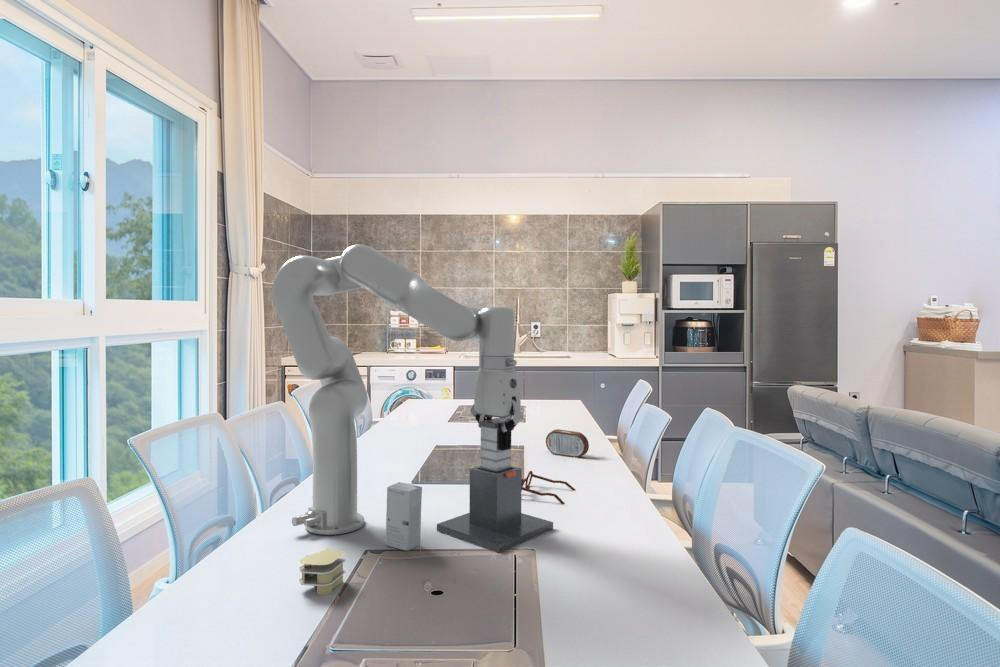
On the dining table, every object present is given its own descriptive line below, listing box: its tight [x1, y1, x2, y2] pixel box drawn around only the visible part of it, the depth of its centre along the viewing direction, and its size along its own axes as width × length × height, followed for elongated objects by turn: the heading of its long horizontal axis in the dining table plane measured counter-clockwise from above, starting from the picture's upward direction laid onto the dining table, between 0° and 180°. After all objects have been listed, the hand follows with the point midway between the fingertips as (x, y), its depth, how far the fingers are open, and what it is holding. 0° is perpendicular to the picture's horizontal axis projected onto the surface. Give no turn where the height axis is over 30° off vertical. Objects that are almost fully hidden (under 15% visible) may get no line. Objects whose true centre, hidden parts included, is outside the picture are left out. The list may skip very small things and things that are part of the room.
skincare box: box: [385, 481, 423, 552], centre depth 122 cm, size 6×4×12 cm
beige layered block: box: [299, 548, 346, 595], centre depth 103 cm, size 10×9×6 cm
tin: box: [545, 428, 590, 459], centre depth 201 cm, size 15×3×8 cm, turn 58°
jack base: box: [436, 465, 554, 553], centre depth 131 cm, size 18×18×14 cm
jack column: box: [478, 417, 512, 474], centre depth 131 cm, size 6×5×21 cm
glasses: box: [521, 470, 576, 505], centre depth 158 cm, size 13×13×5 cm
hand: (495, 446), depth 131 cm, fingers closed on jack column, 4 cm apart
